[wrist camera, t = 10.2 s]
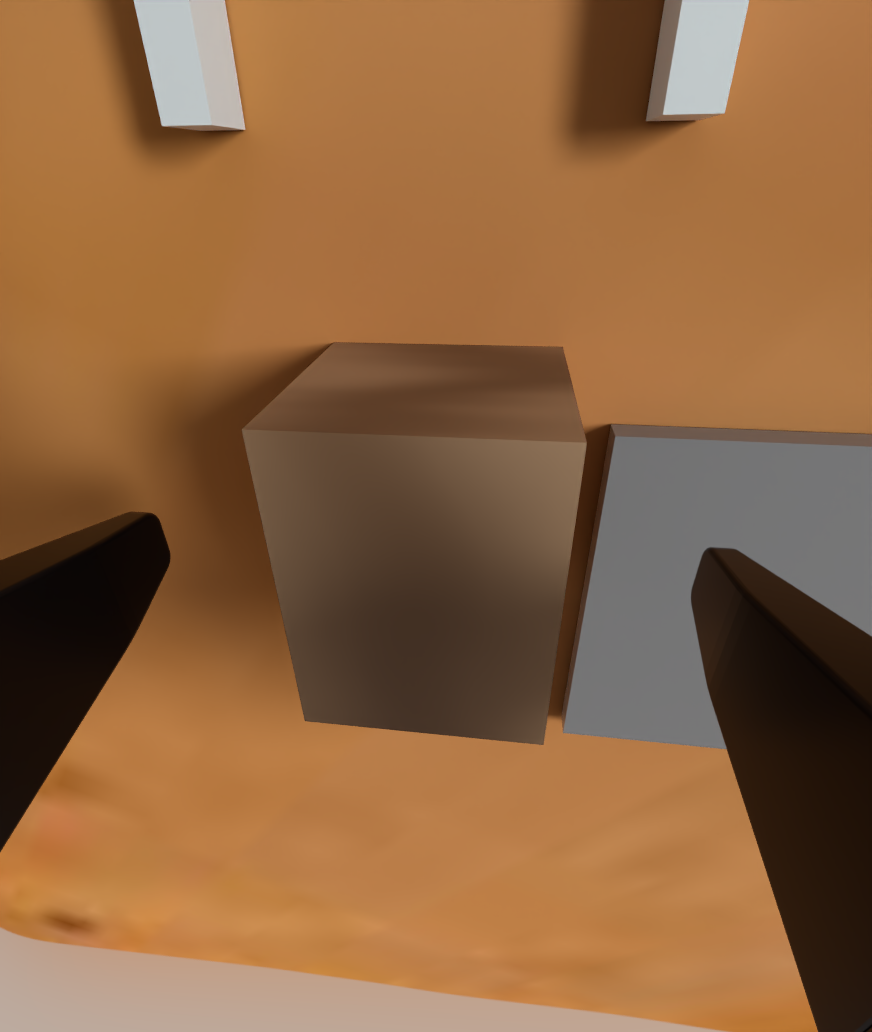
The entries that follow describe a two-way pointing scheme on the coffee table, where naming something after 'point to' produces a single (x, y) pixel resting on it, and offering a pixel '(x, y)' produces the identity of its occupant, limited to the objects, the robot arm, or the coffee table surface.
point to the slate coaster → (678, 550)
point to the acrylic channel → (216, 99)
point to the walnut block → (422, 532)
